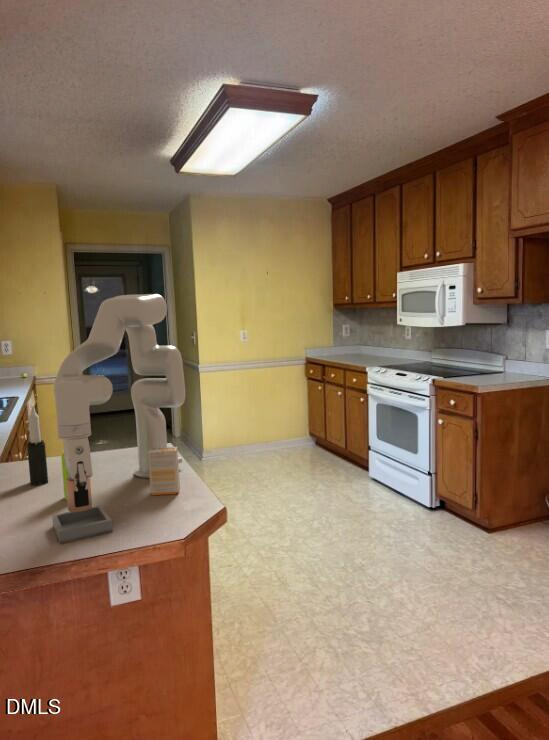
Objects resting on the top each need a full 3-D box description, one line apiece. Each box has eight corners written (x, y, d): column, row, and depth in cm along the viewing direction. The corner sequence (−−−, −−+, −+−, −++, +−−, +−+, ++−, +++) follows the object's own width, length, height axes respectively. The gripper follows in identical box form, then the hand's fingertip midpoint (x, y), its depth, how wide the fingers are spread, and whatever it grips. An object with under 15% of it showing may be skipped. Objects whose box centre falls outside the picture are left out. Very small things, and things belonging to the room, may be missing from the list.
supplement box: (180, 488, 156) (178, 446, 155) (178, 494, 152) (176, 450, 150) (152, 490, 156) (150, 447, 155) (150, 495, 151) (147, 452, 150)
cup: (89, 501, 132) (87, 471, 131) (94, 508, 127) (91, 476, 126) (66, 506, 129) (63, 475, 128) (69, 513, 124) (67, 481, 123)
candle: (31, 486, 164) (24, 408, 161) (30, 481, 168) (23, 405, 165) (48, 483, 166) (41, 406, 163) (47, 479, 170) (40, 403, 168)
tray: (101, 516, 137) (101, 505, 137) (112, 531, 127) (111, 520, 126) (53, 526, 131) (52, 515, 131) (59, 544, 121) (58, 531, 120)
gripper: (97, 434, 121) (102, 509, 122) (84, 422, 135) (88, 489, 137) (63, 439, 117) (69, 516, 119) (53, 426, 132) (58, 495, 133)
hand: (79, 501), depth 128 cm, fingers closed on cup, 5 cm apart
